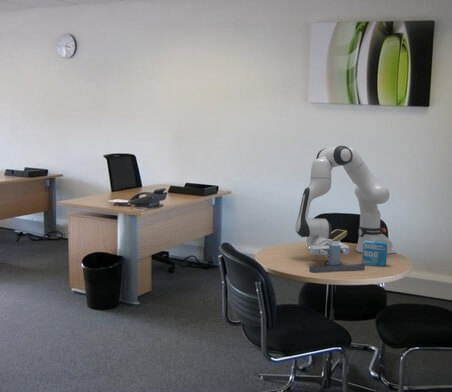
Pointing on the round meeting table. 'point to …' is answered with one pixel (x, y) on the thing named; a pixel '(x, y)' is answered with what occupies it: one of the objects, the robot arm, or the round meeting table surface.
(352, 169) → the robot arm
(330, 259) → the square post
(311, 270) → the rail bracket
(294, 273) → the round meeting table surface
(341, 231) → the box
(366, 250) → the blue printed carton
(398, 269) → the round meeting table surface
